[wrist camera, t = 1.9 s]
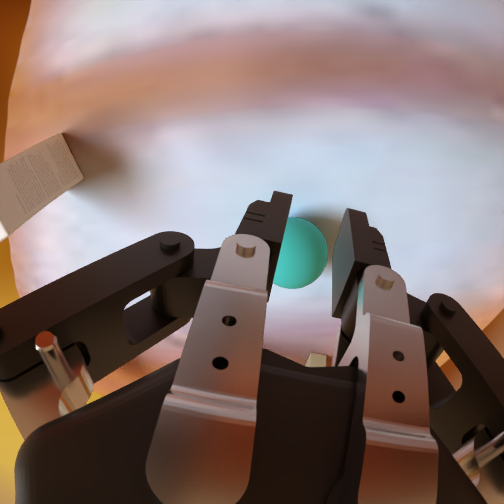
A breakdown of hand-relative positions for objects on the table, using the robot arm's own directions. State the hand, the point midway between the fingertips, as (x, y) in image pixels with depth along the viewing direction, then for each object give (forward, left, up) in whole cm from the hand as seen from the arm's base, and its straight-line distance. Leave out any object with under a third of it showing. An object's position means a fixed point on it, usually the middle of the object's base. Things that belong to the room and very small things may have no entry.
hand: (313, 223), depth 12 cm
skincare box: (+7, -26, -15) cm, 31 cm away
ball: (+10, 0, -12) cm, 15 cm away
